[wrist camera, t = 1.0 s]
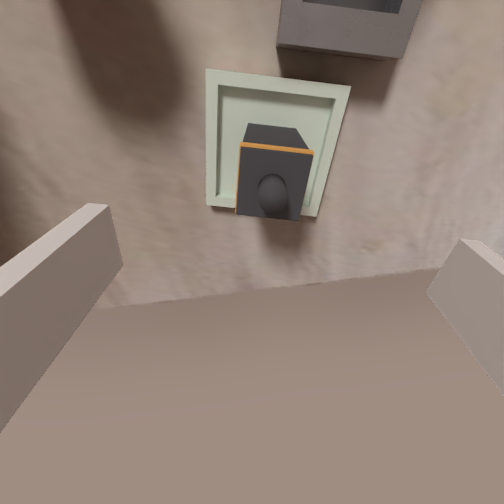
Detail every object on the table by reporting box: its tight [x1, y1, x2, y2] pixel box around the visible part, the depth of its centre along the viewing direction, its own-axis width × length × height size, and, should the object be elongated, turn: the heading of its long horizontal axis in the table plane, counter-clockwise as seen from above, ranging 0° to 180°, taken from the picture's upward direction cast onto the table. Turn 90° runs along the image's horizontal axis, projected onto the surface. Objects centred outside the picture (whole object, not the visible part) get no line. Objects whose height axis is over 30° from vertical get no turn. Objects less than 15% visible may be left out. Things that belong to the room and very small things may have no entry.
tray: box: [206, 69, 351, 217], centre depth 25 cm, size 12×12×2 cm
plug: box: [235, 123, 314, 221], centre depth 20 cm, size 5×5×12 cm
